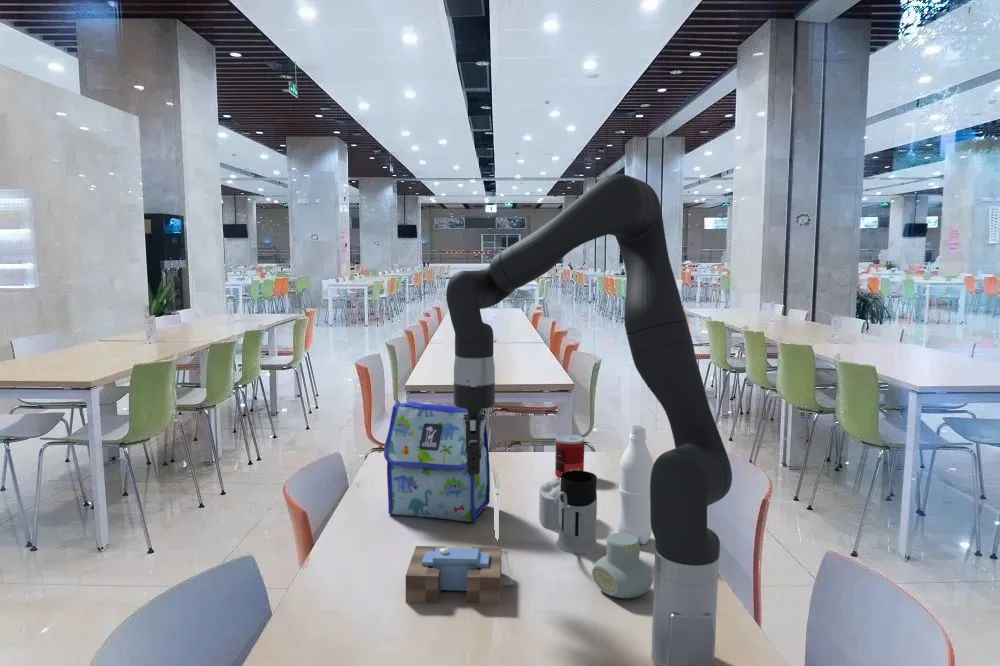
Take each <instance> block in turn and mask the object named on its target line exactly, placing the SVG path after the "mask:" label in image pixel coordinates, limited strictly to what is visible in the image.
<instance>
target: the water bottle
mask: <svg viewBox="0 0 1000 666" xmlns="http://www.w3.org/2000/svg"><path fill="white" fill-rule="evenodd" d="M646 440H647V435H646V426H644V425H638V424H634V425H631V426H630V433H629V443H628V446H627V447H626V449H625V450H624V452H623V454H622V456H621V458H620V462H619V486H618V490H619V496H620V511H619V516H618V520H617V530H618V532H617V533H628V534H632V535H634V536H636V537H637V538H638V539H639V540H640V545H646V544H647V543H648V542H649V540H650V538H651V536H652V533H653V532H652V528H651V520H650V478H651V472H652V468H653V465H654V463H655V461H654V460H653V456H652V455H651V453H650V450H649V448H648V447H647V444H646Z"/></svg>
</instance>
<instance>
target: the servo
mask: <svg viewBox="0 0 1000 666" xmlns="http://www.w3.org/2000/svg"><path fill="white" fill-rule="evenodd" d="M444 547H445V546H443V547H436V550H435V551H425V554H424V557H423V560H422V566H433V568H440V591H463V592H464V591H465V592H467V573H468V569H479V567H488V565H489V557H490V553H480V552H479V548H472V547H469V548H468V547H446V548H444Z"/></svg>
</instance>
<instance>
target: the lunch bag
mask: <svg viewBox="0 0 1000 666" xmlns="http://www.w3.org/2000/svg"><path fill="white" fill-rule="evenodd" d="M464 414H468V411H467V409H465V408H458V407H456V406H455V405H444V404H433V403H432V404H431V403H421V402H415V401H407V402H402V403H399V402H396V403H394V405H392V411H391V415H390V421H389V427H388V431H387V436H386V439H385V442H384V448H383V457H384V459H385V460H386V477H387V479H386V481H387V483H386V484H387V498H388V500H387V502H388V515H395V516H396V515H397V516H410V517H411V516H414V517H416V516H417V517H421V518H435V519H444V520H453V521H457V522H458V521H459V522H469V523H470V522H471V523H476V521H477V517H478V516H479V514H480V513H481V512H482V511H483V509H484V508H486V507H487V506H489V503H490V501H491V500H490V495H491V494H490V493H491V492H490V491H491V480H490V479H491V478H490V475H491V474H490V473H491V472H490V471H491V470H490V469H491V468H490V457H489V456H490V452H489V441H488V440H489V439H488V432H487V431H488V430H487V425H486V423H485V427H484V433H483V442H481V459H480V473H479V474H468V472H467V453H466V451H465V448H466V442H465V441H464V426H463V417H464ZM482 414H484V408H482Z"/></svg>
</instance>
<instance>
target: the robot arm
mask: <svg viewBox="0 0 1000 666" xmlns="http://www.w3.org/2000/svg"><path fill="white" fill-rule="evenodd" d="M663 218H664V217H663V210H662V207H661V202H660V199H659V196H658V194H657V192H656V190H655V189H653V187H652V186H651V185H649V184H648V183H647V182H645V181H643V180H641V179H638V178H635V177H633V176H630V175H628V174H621V173H616V174H615V173H614V174H611V175H607V176H605V177H603V178H602V179H600V180H598V181H597V182H596V183H595V184H594V185H592V186H591V187H589V189H587V190H586V191H585V192H584V193H582V195H580V196H579V197H578V198H577V199H576V200H575V201H574V202H572V203H571V204H570V205H568V206H567V207H566V208H565V209H564V210H562V211H561V212H560V213H558V214H557V215H555V217H554V218H552V219H550V221H548V222H547V223H546V224H544V225H542V226H541V227H540V228H538V229H536V230H535V231H534V232H531V233H530V234H528V235H526V236H524V237H523V238H522V239H520V240H518V241H516V242H514V243H512V245H510V246H508V247H506V248H504V249H503V250H501V251H500V252H498V253H497V254H496V255H494V256H493V257H492V258H491V260H490V262H489V266H487V267H484V268H482V269H479V270H460V271H457V272H455V273H454V274H453V275H452V276H451V277H450V279H449V280H448V284H447V285H446V291H445V292H446V293H445V294H446V295H445V297H446V304H447V309H448V311H449V315H450V316H449V317H450V321H451V324H452V328H453V331H454V363H453V406H456V407H458V408H465V409H467V411H468V414H464V417H463V426H464V441H465V442H466V448H465V451H466V453H467V472H468V474H479V473H480V459H481V442H483V433H484V427H485V424H486V414H485V413H483V414H482V409H489V408H492V407H494V406H495V404H496V370H495V369H496V367H495V361H494V360H495V359H494V358H495V356H494V330H493V328H492V325H490V324H488V323H486V322H483V319H482V315H481V310H483V309H487V308H488V309H489V308H491V307H493V306H495V305H498V304H499V303H500V302H502V301H503V300H505V299H506V298H507V297H509V296H510V295H511V294H512V293H513V292H514V291H515V290H517V289H519V288H522V287H523V286H525V285H528V284H529V283H531V282H533V281H534V280H537V279H538V278H540V277H542V276H543V275H545V274H546V273H548V272H549V271H551V270H552V269H553V268H554V267H555V266H556V265H557V264H558V263H559V262H560V261H561V260H562V259H563V258H564V257H565V256H566V255H568V254H569V253H570V252H572V251H573V250H574V249H576V248H578V247H579V246H581V245H583V244H585V243H588V242H589V241H593V240H596V239H598V238H601V237H605V236H608V235H611V236H614V237H615V240H616V241H617V244H618V246H619V250H620V253H621V256H622V260H623V261H622V262H623V264H624V269H625V276H626V287H625V288H626V289H625V301H624V310H623V311H624V316H623V317H624V318H623V319H624V327H625V332H626V333H625V334H626V337H627V342H628V345H629V349H630V354H631V357H632V360H633V363H634V366H635V369H636V371H637V372H638V374H639V375H640V377H641V379H642V380H643V382H644V383H645V384H646V386H647V387H648V388H649V390H650V391H651V393H652V394H653V395H654V396H655V398H656V400H657V401H658V402H659V403H660V405H661V406H662V408H663V411H664V413H665V415H666V417H667V419H668V422H669V426H670V428H671V429H670V430H671V434H672V437H673V442H674V443H673V444H674V448H673V449H669V450H668V451H666V452H663V453H661V454H660V455H659V456H658V457H657V458H656V459H655V461H654V465H653V468H652V472H651V478H650V520H651V528H652V532H651V533H652V534H653V537H654V541H655V542H654V544H655V545H654V547H655V548H654V549H655V550H654V566H653V567H654V568H653V569H654V570H653V598H652V621H651V622H652V623H651V654H652V655H651V656H652V657H651V659H652V661H653V662H655V663H656V664H657V665H658V666H715V652H716V630H717V629H716V628H717V608H718V589H719V588H718V586H719V585H718V584H719V570H720V569H719V567H720V565H719V564H720V554H721V553H720V552H721V551H720V550H721V549H720V547H721V543H720V538H719V536H718V534H716V532H715V531H714V530H712V529H711V528H708V507H709V506H711V505H713V504H715V503H717V502H718V501H721V500H722V499H723V498H724V497H725V496H726V495H728V493H729V492H730V491H731V490H730V489H731V487H732V482H733V471H732V466H731V462H730V460H729V457H728V453H727V450H726V448H725V444H724V442H723V439H722V436H721V434H720V432H719V428H718V426H717V424H716V421H715V419H714V416H713V412H712V410H711V407H710V404H709V400H708V396H707V394H706V389H705V386H704V381H703V378H702V374H701V371H700V368H699V364H698V359H697V356H696V352H695V351H696V350H695V346H694V342H693V338H692V334H691V330H690V326H689V323H688V319H687V315H686V313H685V310H684V306H683V303H682V299H681V296H680V292H679V291H680V290H679V288H678V285H677V282H676V281H677V280H676V278H675V275H674V272H673V268H672V265H671V261H670V257H669V251H668V245H667V239H666V238H667V237H666V232H665V226H664V219H663ZM655 663H654V664H655ZM656 664H655V665H656ZM657 665H656V666H657Z"/></svg>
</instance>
